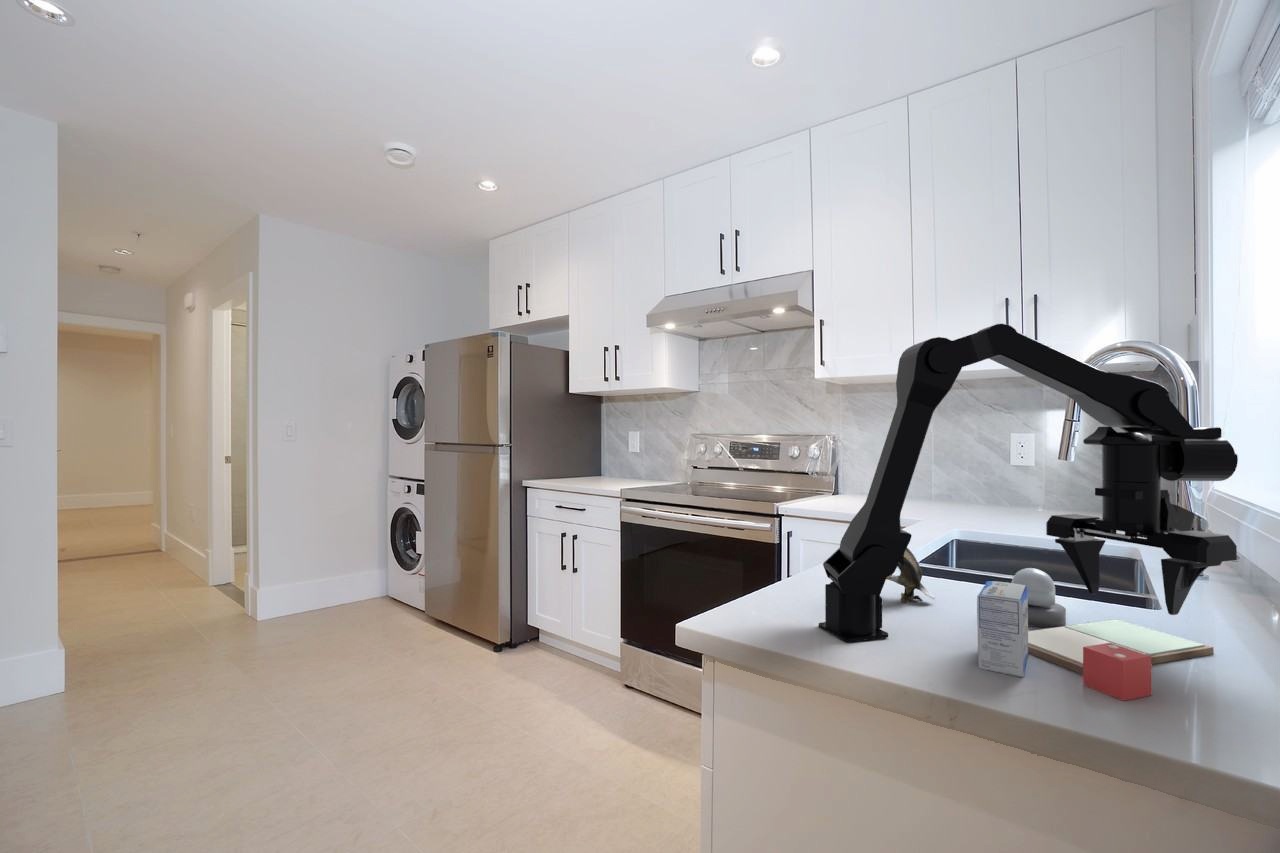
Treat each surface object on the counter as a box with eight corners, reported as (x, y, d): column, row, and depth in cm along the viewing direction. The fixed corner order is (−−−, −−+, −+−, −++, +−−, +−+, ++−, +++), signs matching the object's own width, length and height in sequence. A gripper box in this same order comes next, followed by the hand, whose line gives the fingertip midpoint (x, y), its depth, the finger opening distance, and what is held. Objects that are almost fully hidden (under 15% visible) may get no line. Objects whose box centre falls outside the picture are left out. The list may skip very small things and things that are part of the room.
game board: (1086, 675, 65) (1086, 666, 65) (999, 641, 76) (999, 633, 76) (1213, 653, 71) (1213, 645, 71) (1116, 624, 82) (1116, 617, 82)
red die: (1123, 700, 59) (1123, 660, 59) (1083, 684, 63) (1083, 646, 63) (1151, 695, 60) (1151, 655, 60) (1110, 679, 64) (1110, 642, 64)
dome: (1036, 611, 81) (1036, 574, 81) (1003, 601, 86) (1002, 565, 86) (1064, 608, 83) (1064, 571, 83) (1030, 598, 88) (1029, 563, 88)
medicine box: (1023, 679, 64) (1023, 600, 64) (977, 669, 67) (976, 593, 67) (1028, 656, 71) (1028, 584, 71) (985, 648, 73) (985, 579, 73)
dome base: (1037, 630, 80) (1037, 615, 80) (989, 613, 87) (989, 599, 87) (1079, 624, 82) (1079, 610, 82) (1028, 608, 89) (1028, 595, 89)
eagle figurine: (877, 594, 97) (877, 540, 97) (922, 595, 96) (922, 540, 96) (892, 608, 90) (892, 549, 90) (941, 610, 89) (941, 550, 89)
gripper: (1267, 485, 68) (1268, 620, 68) (1100, 473, 86) (1100, 580, 86) (1202, 488, 65) (1203, 630, 65) (1042, 475, 83) (1043, 586, 83)
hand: (1131, 603), depth 75 cm, fingers open, 9 cm apart
